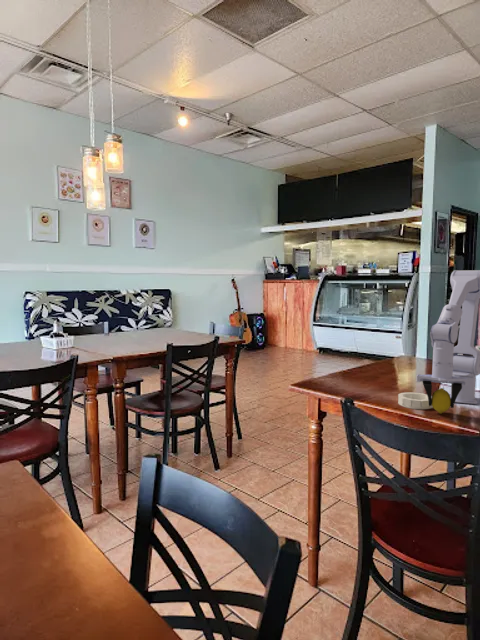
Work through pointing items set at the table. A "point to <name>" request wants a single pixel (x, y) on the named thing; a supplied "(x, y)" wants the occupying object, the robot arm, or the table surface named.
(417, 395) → the ring dish
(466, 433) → the table surface
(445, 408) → the lemon
